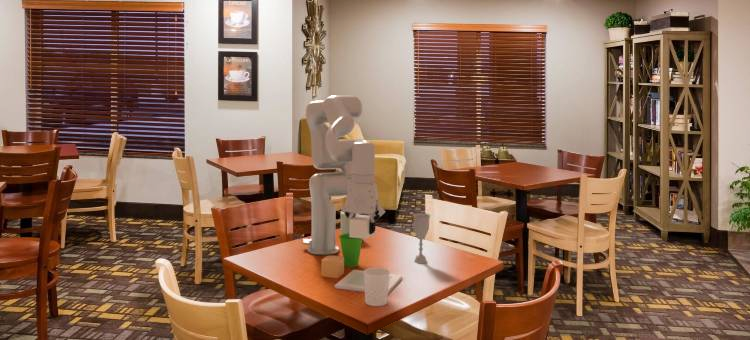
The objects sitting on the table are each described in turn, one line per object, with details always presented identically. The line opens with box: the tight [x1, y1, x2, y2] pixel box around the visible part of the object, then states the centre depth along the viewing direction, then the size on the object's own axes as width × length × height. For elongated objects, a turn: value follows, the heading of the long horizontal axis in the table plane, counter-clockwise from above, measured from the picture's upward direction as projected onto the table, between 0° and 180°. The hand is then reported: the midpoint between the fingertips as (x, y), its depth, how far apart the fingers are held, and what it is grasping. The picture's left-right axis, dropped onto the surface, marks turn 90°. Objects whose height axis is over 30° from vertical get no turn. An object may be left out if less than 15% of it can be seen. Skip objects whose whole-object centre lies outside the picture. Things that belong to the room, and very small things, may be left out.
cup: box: [338, 233, 363, 268], centre depth 226 cm, size 9×9×11 cm
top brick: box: [321, 255, 345, 279], centre depth 215 cm, size 6×6×6 cm
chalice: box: [412, 212, 432, 264], centre depth 232 cm, size 7×7×18 cm
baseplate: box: [334, 269, 403, 294], centre depth 207 cm, size 18×18×1 cm
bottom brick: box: [349, 214, 376, 240], centre depth 204 cm, size 6×8×6 cm
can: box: [339, 211, 362, 236], centre depth 265 cm, size 9×9×12 cm
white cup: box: [363, 267, 391, 307], centre depth 188 cm, size 8×8×10 cm
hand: (362, 231), depth 204 cm, fingers closed on bottom brick, 5 cm apart
